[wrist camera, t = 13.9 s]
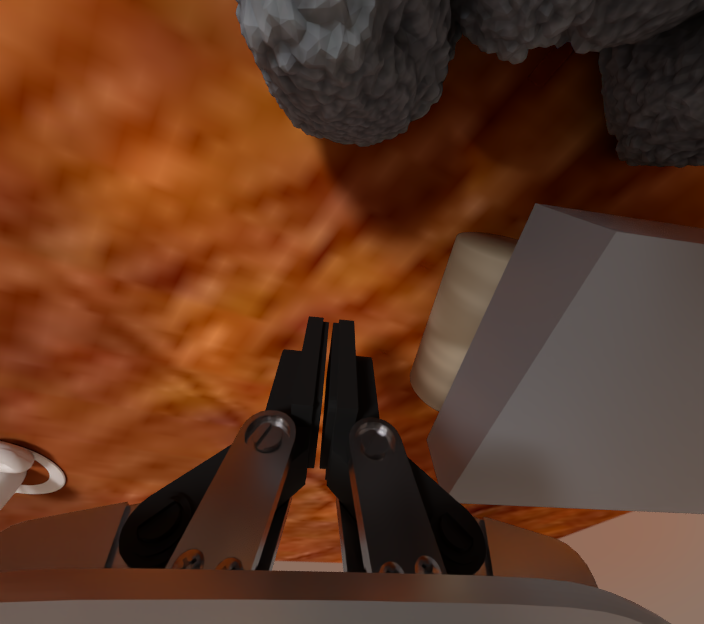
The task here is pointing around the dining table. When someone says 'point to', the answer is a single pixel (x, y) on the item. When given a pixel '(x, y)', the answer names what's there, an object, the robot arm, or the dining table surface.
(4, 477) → the white looped ring piece
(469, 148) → the dining table surface
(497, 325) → the slab
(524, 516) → the dining table surface
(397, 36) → the koala plush
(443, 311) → the track
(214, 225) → the dining table surface
